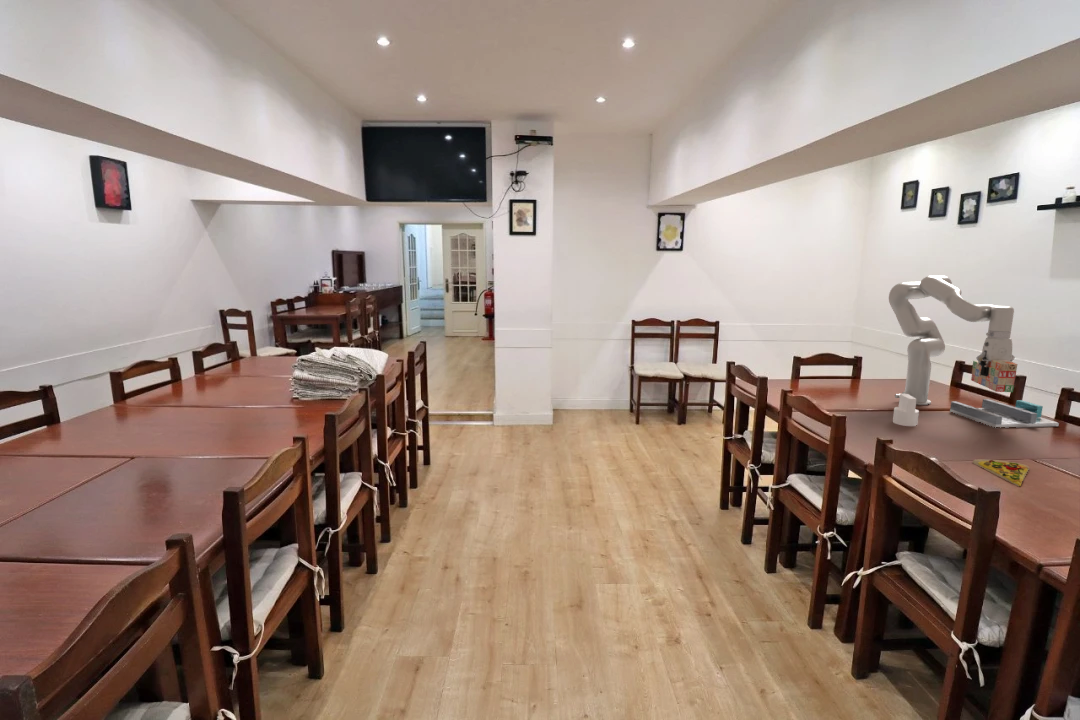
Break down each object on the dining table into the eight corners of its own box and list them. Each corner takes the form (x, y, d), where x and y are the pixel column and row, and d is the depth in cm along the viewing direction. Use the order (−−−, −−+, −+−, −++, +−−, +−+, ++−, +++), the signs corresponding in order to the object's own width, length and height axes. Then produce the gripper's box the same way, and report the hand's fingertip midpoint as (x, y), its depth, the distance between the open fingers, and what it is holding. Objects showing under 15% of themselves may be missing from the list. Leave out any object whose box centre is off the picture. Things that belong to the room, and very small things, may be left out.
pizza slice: (1026, 469, 188) (1028, 461, 188) (1050, 493, 170) (1052, 483, 169) (970, 462, 195) (971, 454, 194) (987, 484, 177) (989, 475, 176)
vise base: (995, 428, 231) (997, 416, 230) (949, 412, 254) (951, 401, 253) (1058, 426, 232) (1060, 414, 231) (1007, 410, 256) (1009, 400, 255)
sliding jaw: (1030, 422, 231) (1032, 411, 230) (981, 407, 255) (983, 396, 254) (1056, 422, 232) (1058, 410, 231) (1005, 406, 255) (1007, 396, 254)
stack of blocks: (970, 380, 251) (974, 354, 249) (986, 381, 250) (990, 354, 248) (995, 391, 231) (1000, 362, 229) (1013, 392, 229) (1017, 363, 227)
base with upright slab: (921, 426, 233) (924, 399, 231) (897, 425, 235) (901, 398, 233) (911, 420, 242) (915, 394, 240) (889, 419, 244) (892, 393, 241)
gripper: (986, 336, 232) (980, 377, 235) (1026, 335, 233) (1019, 376, 236) (972, 334, 239) (966, 374, 242) (1010, 333, 240) (1004, 373, 243)
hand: (993, 375), depth 239 cm, fingers closed on stack of blocks, 7 cm apart
